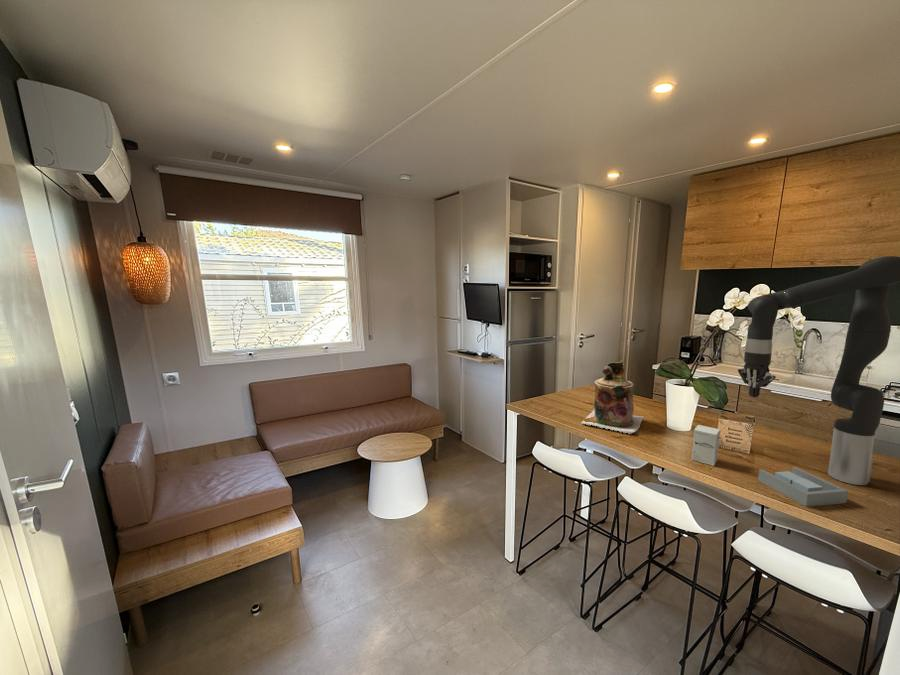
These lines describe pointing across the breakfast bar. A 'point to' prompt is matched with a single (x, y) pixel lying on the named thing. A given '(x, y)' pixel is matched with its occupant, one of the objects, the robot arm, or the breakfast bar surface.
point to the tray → (813, 498)
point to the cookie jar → (614, 401)
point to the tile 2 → (806, 485)
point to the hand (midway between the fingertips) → (753, 396)
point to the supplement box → (705, 444)
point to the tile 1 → (787, 476)
